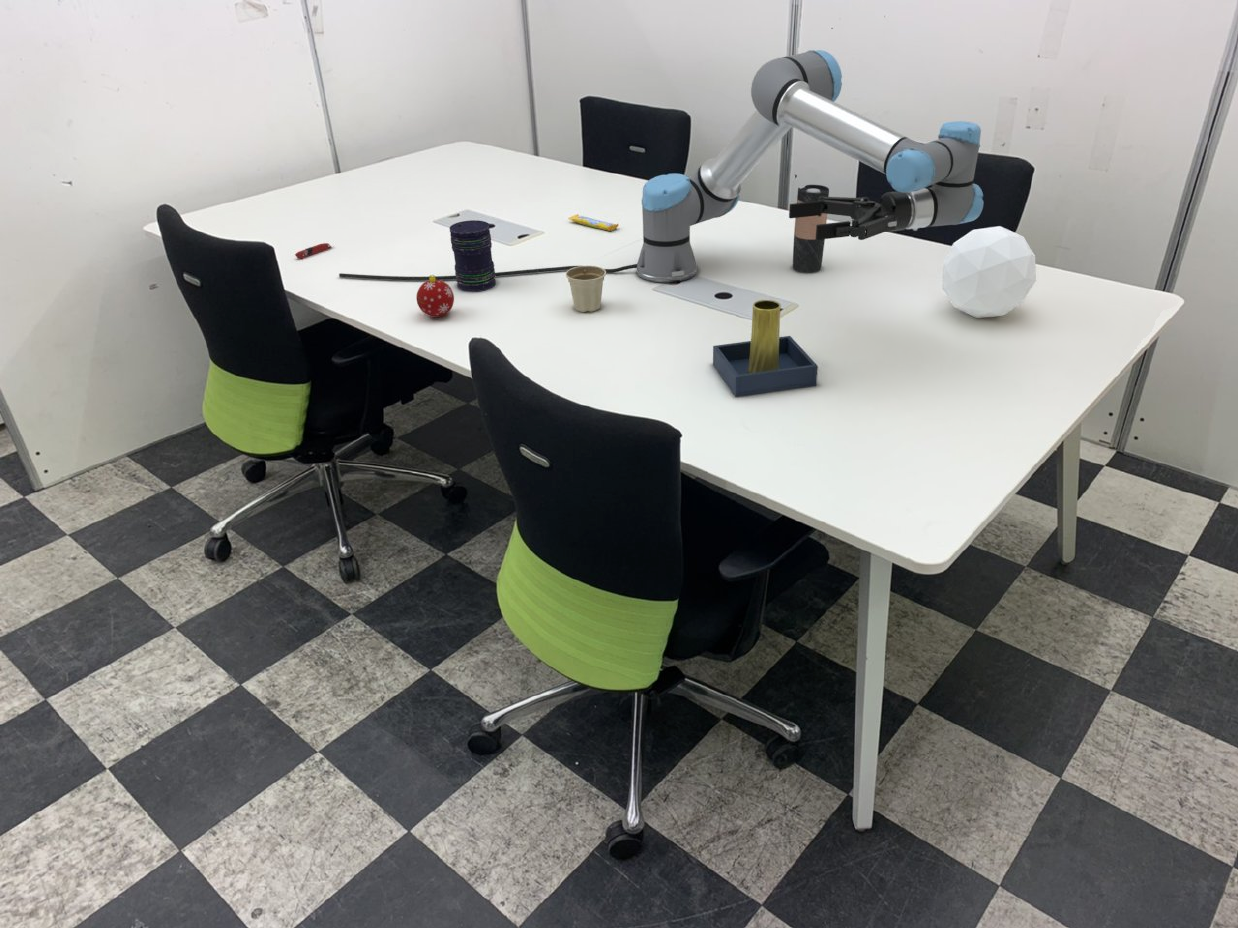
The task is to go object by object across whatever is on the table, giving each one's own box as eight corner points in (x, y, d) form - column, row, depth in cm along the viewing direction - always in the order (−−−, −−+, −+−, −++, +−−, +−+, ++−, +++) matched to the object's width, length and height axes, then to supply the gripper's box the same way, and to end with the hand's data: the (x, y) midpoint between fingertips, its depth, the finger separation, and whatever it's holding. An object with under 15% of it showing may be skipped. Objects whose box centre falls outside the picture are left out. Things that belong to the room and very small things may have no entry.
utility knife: (297, 260, 255) (296, 253, 254) (295, 259, 256) (293, 252, 255) (332, 248, 263) (331, 241, 262) (330, 247, 263) (328, 240, 262)
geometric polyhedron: (981, 350, 208) (979, 302, 191) (926, 293, 218) (919, 243, 201) (1055, 301, 206) (1059, 248, 189) (995, 246, 217) (994, 191, 200)
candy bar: (620, 229, 267) (620, 222, 266) (611, 233, 265) (611, 226, 264) (577, 219, 277) (577, 212, 276) (568, 222, 274) (567, 216, 273)
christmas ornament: (415, 312, 221) (409, 272, 216) (451, 305, 224) (445, 266, 218) (424, 325, 214) (417, 284, 209) (460, 318, 217) (454, 277, 212)
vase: (745, 365, 189) (747, 299, 181) (775, 363, 189) (778, 297, 182) (751, 379, 184) (754, 312, 176) (782, 377, 184) (786, 309, 177)
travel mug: (823, 273, 232) (831, 193, 222) (792, 273, 233) (798, 193, 223) (820, 263, 239) (828, 184, 228) (790, 262, 240) (796, 184, 229)
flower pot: (613, 301, 222) (611, 267, 217) (599, 317, 215) (597, 281, 210) (576, 298, 225) (574, 264, 220) (562, 313, 217) (559, 278, 213)
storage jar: (503, 280, 237) (497, 222, 229) (483, 294, 229) (475, 235, 221) (470, 275, 240) (463, 218, 232) (449, 289, 233) (440, 230, 225)
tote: (735, 397, 180) (736, 377, 177) (712, 364, 192) (713, 345, 189) (816, 385, 182) (818, 365, 180) (788, 354, 194) (790, 335, 192)
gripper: (932, 249, 176) (827, 261, 172) (874, 210, 196) (778, 221, 193) (938, 210, 172) (830, 221, 168) (878, 175, 192) (780, 184, 189)
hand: (802, 221), depth 180 cm, fingers open, 13 cm apart
